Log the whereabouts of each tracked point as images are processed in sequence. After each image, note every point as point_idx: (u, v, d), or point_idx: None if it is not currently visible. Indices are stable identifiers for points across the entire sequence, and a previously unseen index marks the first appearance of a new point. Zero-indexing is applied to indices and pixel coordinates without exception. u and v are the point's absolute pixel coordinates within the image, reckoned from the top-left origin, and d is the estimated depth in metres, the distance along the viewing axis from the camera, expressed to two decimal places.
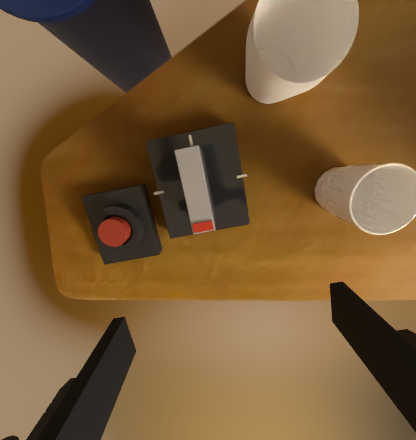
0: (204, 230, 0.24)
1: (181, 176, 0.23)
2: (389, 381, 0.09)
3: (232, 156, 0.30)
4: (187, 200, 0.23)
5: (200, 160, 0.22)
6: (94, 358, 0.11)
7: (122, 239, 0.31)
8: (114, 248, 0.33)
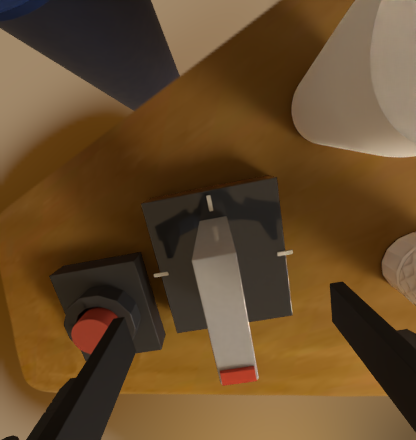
0: None
1: (203, 301, 0.13)
2: (389, 381, 0.09)
3: (272, 225, 0.20)
4: (212, 337, 0.13)
5: (238, 276, 0.12)
6: (94, 358, 0.11)
7: None
8: None
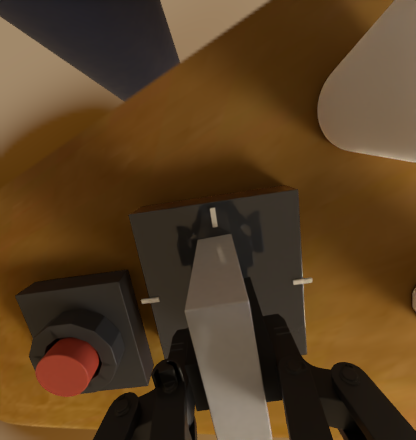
0: None
1: (201, 365, 0.09)
2: None
3: (288, 248, 0.16)
4: (214, 412, 0.10)
5: (251, 333, 0.09)
6: None
7: (79, 387, 0.17)
8: None
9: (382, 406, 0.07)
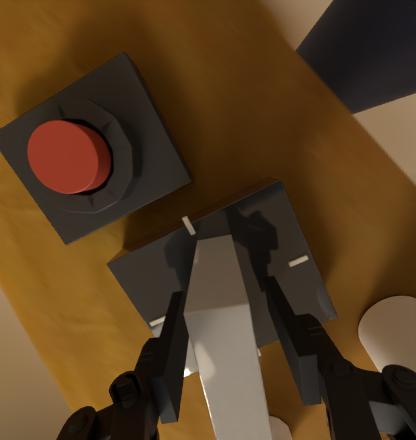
0: None
1: (200, 369, 0.09)
2: (287, 354, 0.11)
3: None
4: (214, 416, 0.09)
5: (252, 337, 0.08)
6: (169, 321, 0.13)
7: (57, 184, 0.13)
8: None
9: None
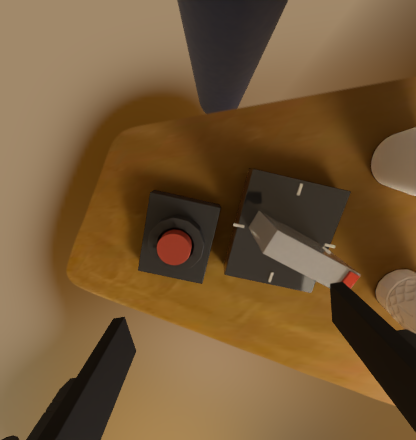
0: (352, 284, 0.20)
1: (288, 265, 0.20)
2: (388, 381, 0.09)
3: (330, 223, 0.27)
4: (312, 276, 0.20)
5: (291, 238, 0.20)
6: (94, 358, 0.11)
7: (180, 260, 0.26)
8: (162, 262, 0.28)
9: None
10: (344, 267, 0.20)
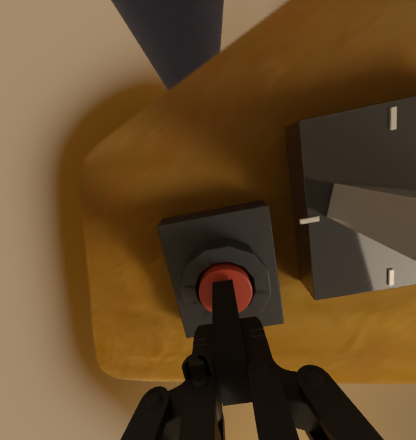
0: None
1: None
2: None
3: None
4: None
5: None
6: (218, 308, 0.13)
7: (242, 304, 0.17)
8: None
9: (343, 406, 0.07)
10: None
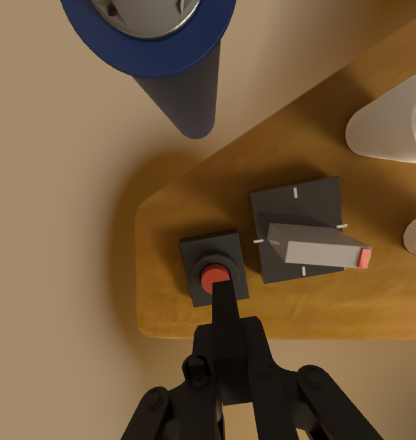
0: (368, 258, 0.24)
1: (309, 263, 0.24)
2: None
3: (334, 207, 0.31)
4: (332, 264, 0.24)
5: (302, 242, 0.24)
6: (218, 308, 0.13)
7: None
8: (211, 294, 0.33)
9: (343, 406, 0.07)
10: (355, 247, 0.24)
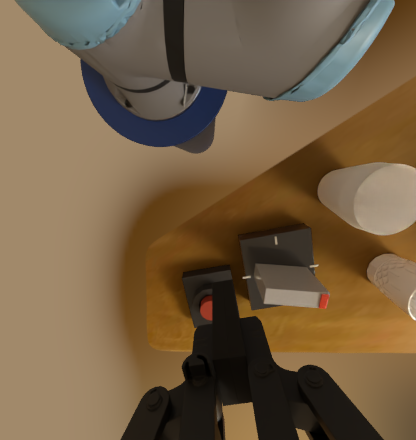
0: (327, 301, 0.31)
1: (282, 304, 0.32)
2: None
3: (307, 251, 0.38)
4: (300, 305, 0.32)
5: (276, 289, 0.31)
6: (218, 308, 0.13)
7: None
8: None
9: (343, 406, 0.07)
10: (317, 293, 0.31)
